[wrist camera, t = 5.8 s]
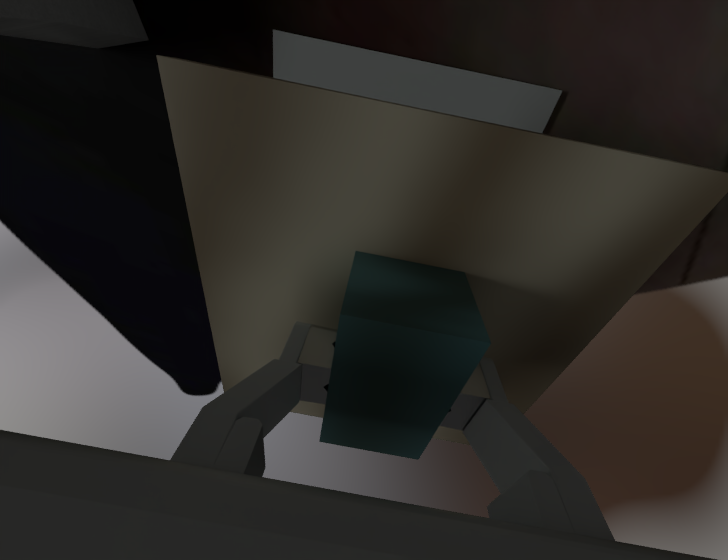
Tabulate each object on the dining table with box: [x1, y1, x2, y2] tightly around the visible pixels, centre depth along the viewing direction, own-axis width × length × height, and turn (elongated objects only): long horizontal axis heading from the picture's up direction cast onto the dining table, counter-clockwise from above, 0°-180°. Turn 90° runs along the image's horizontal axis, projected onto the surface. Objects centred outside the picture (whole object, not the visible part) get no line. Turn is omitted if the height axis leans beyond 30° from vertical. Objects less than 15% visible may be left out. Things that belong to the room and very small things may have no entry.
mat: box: [273, 30, 562, 133], centre depth 22 cm, size 18×18×1 cm
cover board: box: [156, 55, 728, 459], centre depth 10 cm, size 14×14×4 cm
